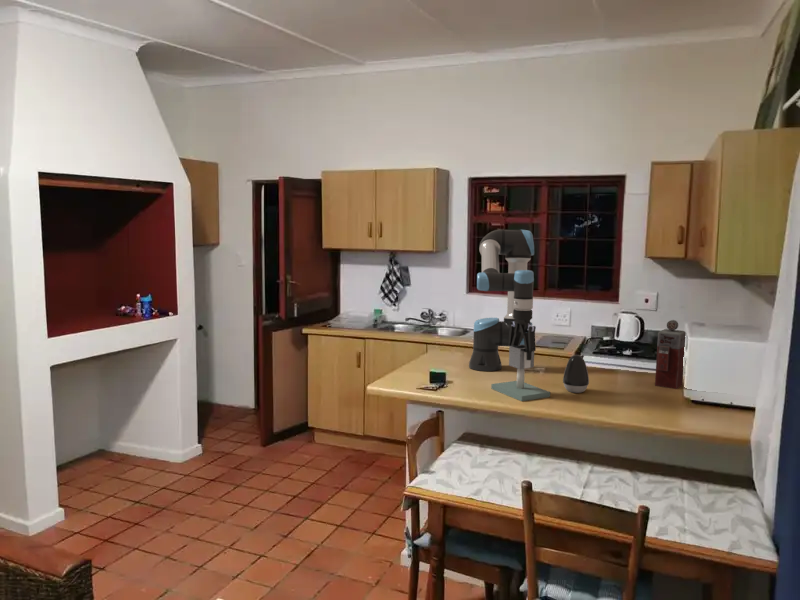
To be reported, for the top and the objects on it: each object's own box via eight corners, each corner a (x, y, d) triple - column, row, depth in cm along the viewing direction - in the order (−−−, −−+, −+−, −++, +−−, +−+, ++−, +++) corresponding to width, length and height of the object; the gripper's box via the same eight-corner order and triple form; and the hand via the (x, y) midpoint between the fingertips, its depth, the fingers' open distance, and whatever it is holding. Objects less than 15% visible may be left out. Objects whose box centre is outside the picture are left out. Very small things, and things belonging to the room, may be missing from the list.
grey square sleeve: (508, 365, 260) (509, 345, 259) (522, 363, 264) (523, 344, 263) (519, 369, 254) (520, 349, 253) (533, 367, 257) (534, 347, 256)
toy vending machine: (653, 386, 272) (657, 321, 268) (660, 381, 281) (664, 317, 277) (675, 390, 266) (679, 323, 263) (682, 384, 275) (686, 320, 272)
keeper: (491, 388, 266) (492, 356, 264) (518, 384, 272) (519, 353, 271) (521, 401, 248) (522, 367, 247) (550, 396, 255) (551, 363, 253)
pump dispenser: (593, 391, 264) (594, 354, 262) (580, 396, 256) (582, 358, 254) (570, 386, 270) (572, 351, 269) (557, 391, 263) (559, 354, 261)
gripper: (500, 306, 263) (498, 361, 266) (531, 313, 245) (529, 372, 248) (515, 305, 266) (513, 360, 269) (546, 311, 249) (544, 370, 252)
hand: (521, 365), depth 259 cm, fingers closed on grey square sleeve, 7 cm apart
